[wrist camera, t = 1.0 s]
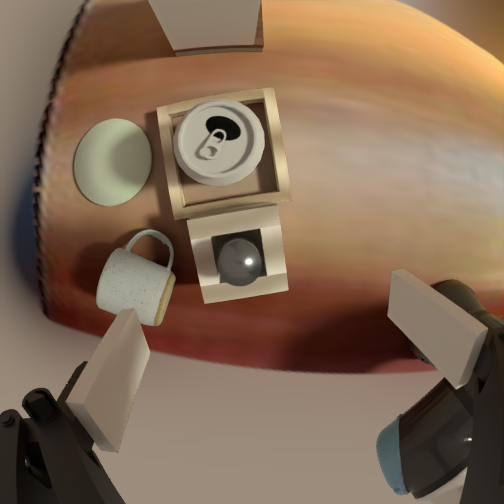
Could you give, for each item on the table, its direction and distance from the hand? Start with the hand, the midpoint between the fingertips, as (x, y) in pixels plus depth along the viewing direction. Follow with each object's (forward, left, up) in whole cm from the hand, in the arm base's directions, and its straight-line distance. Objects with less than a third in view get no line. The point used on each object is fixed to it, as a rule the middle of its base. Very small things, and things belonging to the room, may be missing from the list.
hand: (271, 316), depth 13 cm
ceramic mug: (-2, +14, -22) cm, 26 cm away
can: (+10, +2, -22) cm, 24 cm away
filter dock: (+5, +2, -21) cm, 22 cm away
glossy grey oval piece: (-1, +2, -17) cm, 17 cm away
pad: (+12, +16, -21) cm, 29 cm away
